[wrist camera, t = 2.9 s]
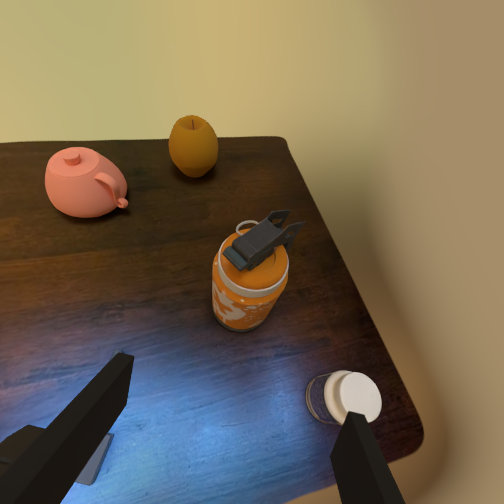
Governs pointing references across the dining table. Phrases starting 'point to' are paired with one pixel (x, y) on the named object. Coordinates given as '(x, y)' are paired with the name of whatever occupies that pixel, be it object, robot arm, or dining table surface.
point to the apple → (193, 146)
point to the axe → (96, 456)
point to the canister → (251, 272)
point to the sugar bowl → (84, 183)
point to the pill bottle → (343, 397)
